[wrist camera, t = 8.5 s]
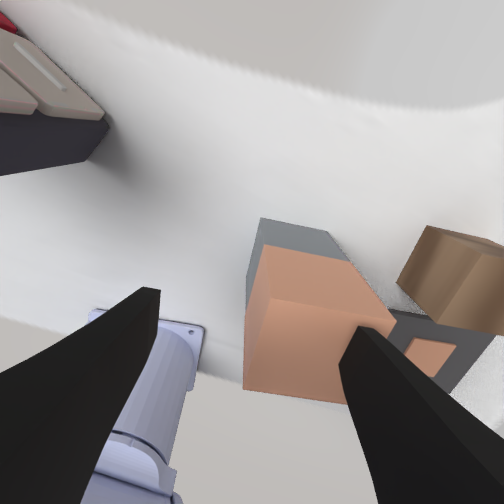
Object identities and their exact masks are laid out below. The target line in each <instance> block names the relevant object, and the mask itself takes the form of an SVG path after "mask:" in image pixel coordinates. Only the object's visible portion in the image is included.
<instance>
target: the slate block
mask: <svg viewBox="0 0 504 504" xmlns="http://www.w3.org/2000/svg"><path fill="white" fill-rule="evenodd" d="M264 244H266V245H271V246H275V247H280V248H285V249H290V250H295V251H300V252H305V253H310V254H314V255H319V256H324V257H329V258H334V259H339V260H344V261H349V262H351V261H350V260H349V259H348V258H347V256H346V255H345V254H344V253H343V251H342V250H341V249H340V247H339V246H338V245H337V244H336V242H335V241H334V240H333V239H332V237H331V236H330V235H329V233H328V232H327V231H323V230H318V229H314V228H309V227H304V226H299V225H294V224H290V223H285V222H280V221H275V220H270V219H266V218H260V222H259V226H258V230H257V234H256V239H255V243H254V247H253V251H252V255H251V259H250V264H249V268H248V272H247V276H246V310H247V306H248V302H249V299H250V295H251V291H252V287H253V284H254V280H255V276H256V272H257V269H258V265H259V261H260V257H261V254H262V250H263V246H264ZM245 314H246V312H245Z"/></svg>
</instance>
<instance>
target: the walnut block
mask: <svg viewBox="0 0 504 504" xmlns="http://www.w3.org/2000/svg"><path fill="white" fill-rule="evenodd" d="M396 283H397V284H398V285H399V286H400V287H401V288H402V289H403V290H404V291H405V292H406V293H407V294H408V295H409V296H410V297H411V298H412V299H413V301H414V302H415V303H416V304H417V305H418V306H419V307H420V308H421V309H422V310H423V311H424V312H425V313H426V314H427V315H428V316H429V317H430V318H431V319H432V320H433V321H434V322H435V323H436V324H441V325H447V326H452V327H457V328H463V329H468V330H474V331H479V332H484V333H490V334H495V335H501V336H504V246H501V245H499V244H497V243H495V242H493V241H490V240H488V239H485V238H480V237H476V236H471V235H467V234H463V233H458V232H454V231H450V230H445V229H441V228H436V227H432V226H428V225H427V226H426V227H425V229H424V231H423V233H422V235H421V237H420V239H419V241H418V242H417V244H416V246H415V248H414V250H413V252H412V254H411V255H410V257H409V259H408V261H407V263H406V265H405V267H404V268H403V270H402V272H401V274H400V276H399V278H398V280H397V282H396Z"/></svg>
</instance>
